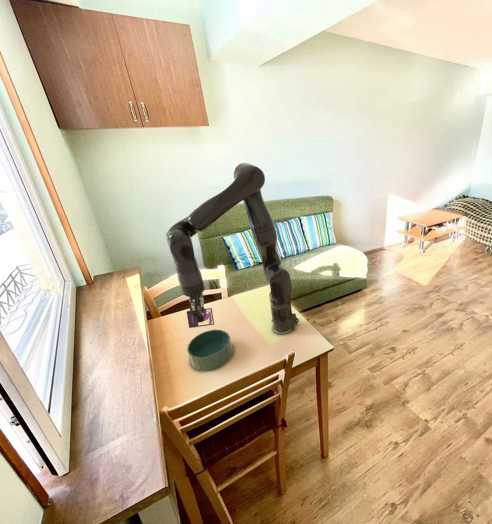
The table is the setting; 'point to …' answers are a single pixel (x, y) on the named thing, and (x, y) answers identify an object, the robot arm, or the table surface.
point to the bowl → (210, 350)
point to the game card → (193, 320)
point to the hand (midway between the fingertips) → (201, 317)
